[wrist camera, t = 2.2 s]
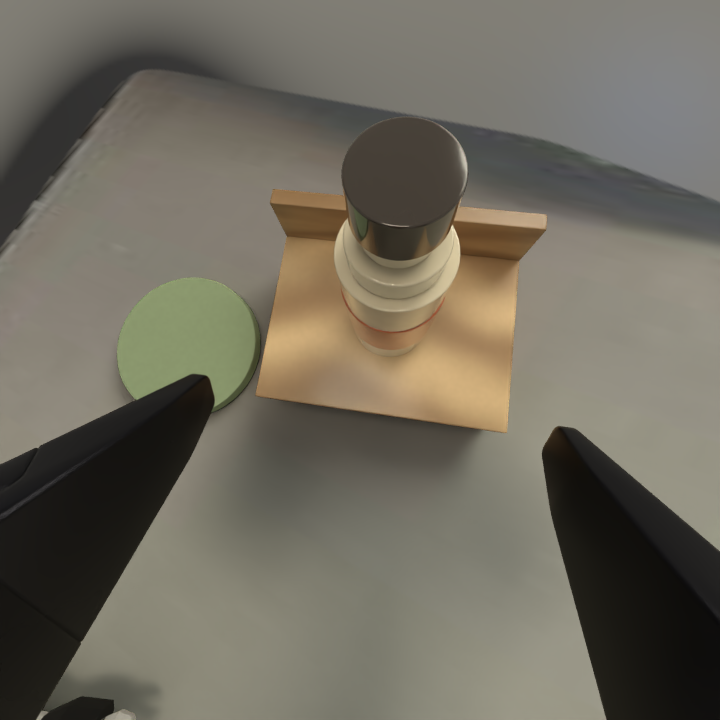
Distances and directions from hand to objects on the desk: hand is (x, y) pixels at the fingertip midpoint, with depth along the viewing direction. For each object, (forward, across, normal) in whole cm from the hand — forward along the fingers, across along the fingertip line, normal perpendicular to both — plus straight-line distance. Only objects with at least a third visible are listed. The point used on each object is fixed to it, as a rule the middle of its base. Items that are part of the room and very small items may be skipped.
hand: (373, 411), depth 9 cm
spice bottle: (+10, 0, +2) cm, 10 cm away
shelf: (+12, 0, +5) cm, 13 cm away
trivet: (+10, +12, +7) cm, 18 cm away
